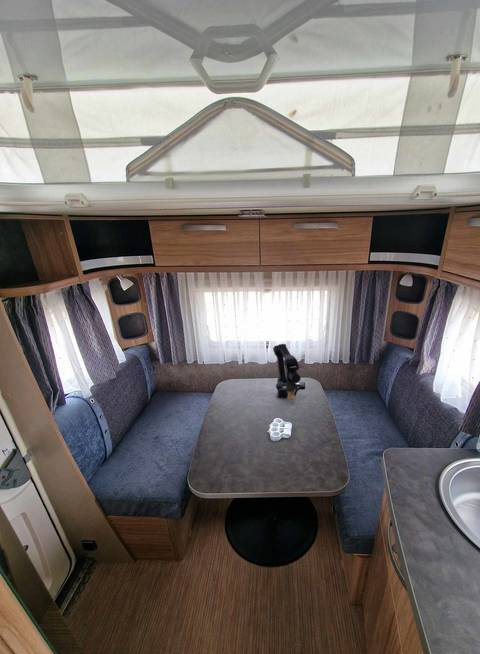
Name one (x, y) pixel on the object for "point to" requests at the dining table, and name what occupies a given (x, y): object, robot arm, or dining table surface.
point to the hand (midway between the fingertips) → (291, 396)
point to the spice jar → (291, 395)
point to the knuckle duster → (279, 429)
